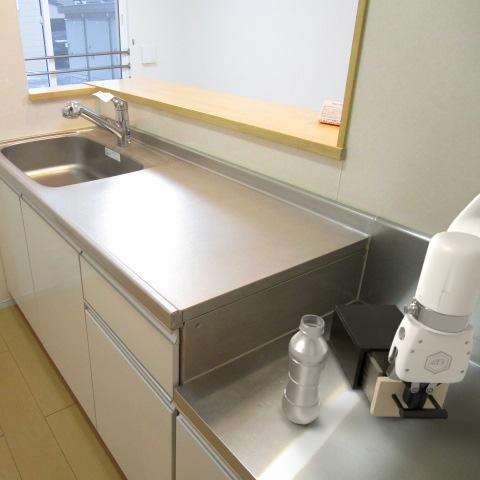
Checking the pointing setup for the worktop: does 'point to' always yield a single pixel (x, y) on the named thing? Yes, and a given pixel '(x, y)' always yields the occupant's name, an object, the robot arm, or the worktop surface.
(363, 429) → the worktop surface
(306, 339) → the plastic bottle
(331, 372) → the worktop surface
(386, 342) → the black rectangular box
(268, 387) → the worktop surface
